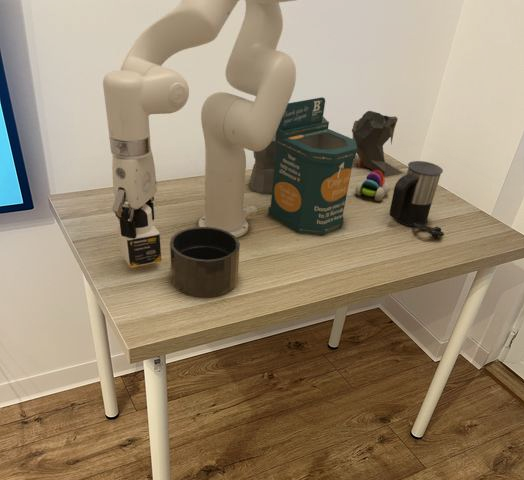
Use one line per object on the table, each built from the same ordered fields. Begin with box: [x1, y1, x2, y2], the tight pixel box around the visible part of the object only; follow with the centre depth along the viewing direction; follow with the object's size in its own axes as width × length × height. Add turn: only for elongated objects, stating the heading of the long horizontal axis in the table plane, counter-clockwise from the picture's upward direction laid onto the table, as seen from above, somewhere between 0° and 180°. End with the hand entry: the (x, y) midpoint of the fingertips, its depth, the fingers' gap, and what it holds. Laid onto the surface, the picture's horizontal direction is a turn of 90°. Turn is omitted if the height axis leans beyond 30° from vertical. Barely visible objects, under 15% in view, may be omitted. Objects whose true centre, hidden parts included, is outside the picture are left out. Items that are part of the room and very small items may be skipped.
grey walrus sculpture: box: [351, 110, 403, 178], centre depth 169 cm, size 14×15×18 cm
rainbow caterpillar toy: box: [354, 170, 391, 202], centre depth 155 cm, size 8×10×7 cm
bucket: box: [169, 226, 241, 298], centre depth 113 cm, size 14×14×9 cm
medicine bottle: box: [117, 203, 162, 269], centre depth 113 cm, size 7×7×12 cm
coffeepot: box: [248, 133, 276, 195], centre depth 149 cm, size 15×9×18 cm, turn 37°
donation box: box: [267, 97, 357, 236], centre depth 133 cm, size 16×16×28 cm
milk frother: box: [389, 160, 445, 238], centre depth 139 cm, size 14×16×15 cm
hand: (138, 227), depth 112 cm, fingers closed on medicine bottle, 7 cm apart
